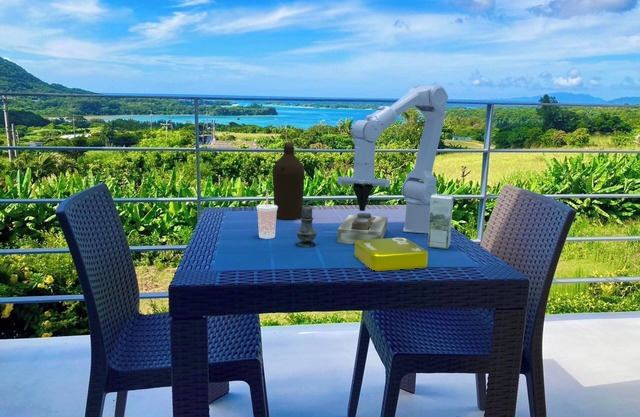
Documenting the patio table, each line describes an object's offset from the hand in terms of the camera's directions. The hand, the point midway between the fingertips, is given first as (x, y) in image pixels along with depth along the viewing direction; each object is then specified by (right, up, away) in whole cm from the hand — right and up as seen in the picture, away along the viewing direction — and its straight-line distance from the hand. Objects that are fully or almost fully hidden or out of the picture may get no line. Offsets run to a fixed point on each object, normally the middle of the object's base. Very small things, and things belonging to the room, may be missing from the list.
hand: (362, 210), depth 162 cm
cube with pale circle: (-1, -6, -1) cm, 7 cm away
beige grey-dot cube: (+1, -5, +5) cm, 7 cm away
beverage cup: (-28, -8, +2) cm, 29 cm away
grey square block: (+1, -8, +5) cm, 9 cm away
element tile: (+6, -13, -19) cm, 24 cm away
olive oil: (-23, -3, +28) cm, 36 cm away
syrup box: (+21, -10, -4) cm, 24 cm away
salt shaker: (-16, -10, -5) cm, 19 cm away
